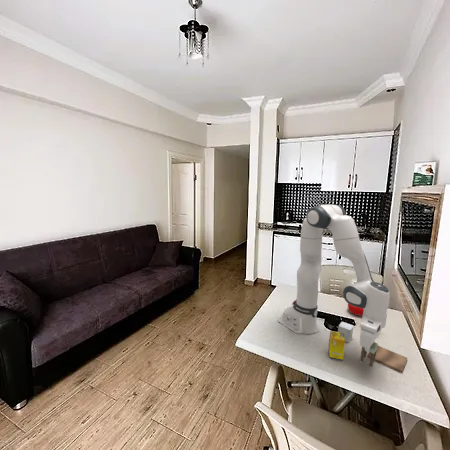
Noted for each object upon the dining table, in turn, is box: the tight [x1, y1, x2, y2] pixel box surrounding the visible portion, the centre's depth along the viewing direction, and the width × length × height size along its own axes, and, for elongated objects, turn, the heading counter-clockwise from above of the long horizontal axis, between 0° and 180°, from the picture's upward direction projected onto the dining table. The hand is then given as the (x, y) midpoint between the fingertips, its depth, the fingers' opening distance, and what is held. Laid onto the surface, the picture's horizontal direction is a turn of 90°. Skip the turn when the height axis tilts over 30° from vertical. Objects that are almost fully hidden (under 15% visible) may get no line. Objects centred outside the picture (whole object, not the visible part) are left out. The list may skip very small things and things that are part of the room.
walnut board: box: [366, 345, 408, 374], centre depth 119 cm, size 14×12×1 cm
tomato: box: [347, 303, 364, 316], centre depth 159 cm, size 11×12×10 cm
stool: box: [359, 341, 379, 367], centre depth 113 cm, size 5×5×9 cm
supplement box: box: [327, 330, 346, 362], centre depth 119 cm, size 6×6×11 cm
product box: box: [337, 321, 354, 344], centre depth 133 cm, size 6×6×7 cm
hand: (369, 347), depth 113 cm, fingers closed on stool, 5 cm apart
